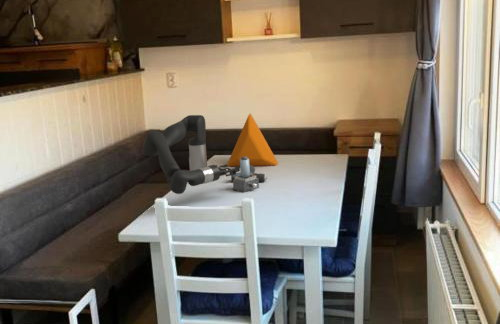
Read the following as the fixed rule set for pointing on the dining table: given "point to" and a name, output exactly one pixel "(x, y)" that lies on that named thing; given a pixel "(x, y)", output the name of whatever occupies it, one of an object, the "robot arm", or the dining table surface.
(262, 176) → the power drill
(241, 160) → the capped canister
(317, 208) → the dining table surface
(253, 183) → the grey metal open box
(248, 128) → the decorative object
